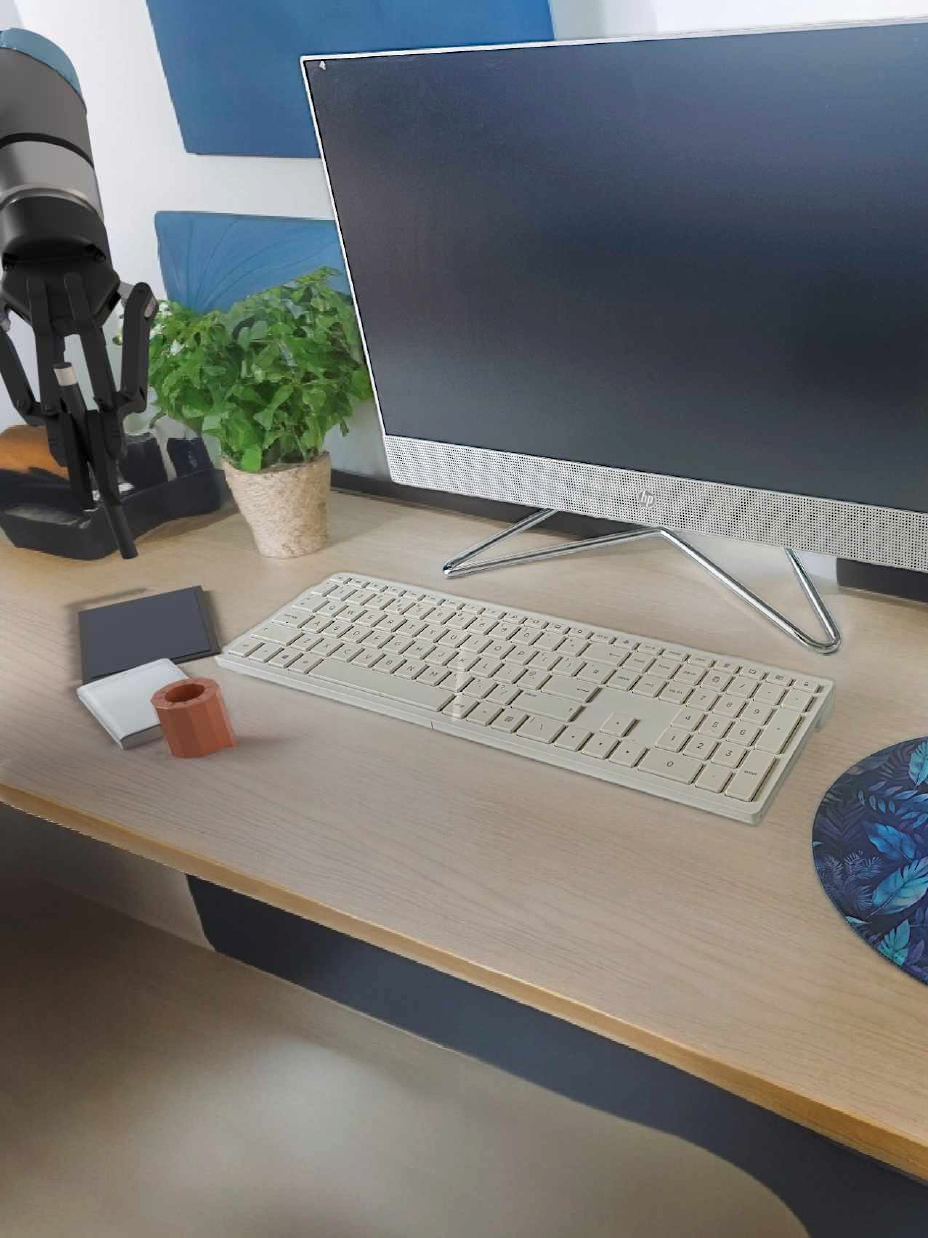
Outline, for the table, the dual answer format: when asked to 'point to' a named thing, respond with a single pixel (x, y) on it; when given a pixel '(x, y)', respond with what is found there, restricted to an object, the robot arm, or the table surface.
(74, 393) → the stylus
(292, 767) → the table surface
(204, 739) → the pen holder
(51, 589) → the table surface
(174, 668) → the hard drive
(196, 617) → the tablet
